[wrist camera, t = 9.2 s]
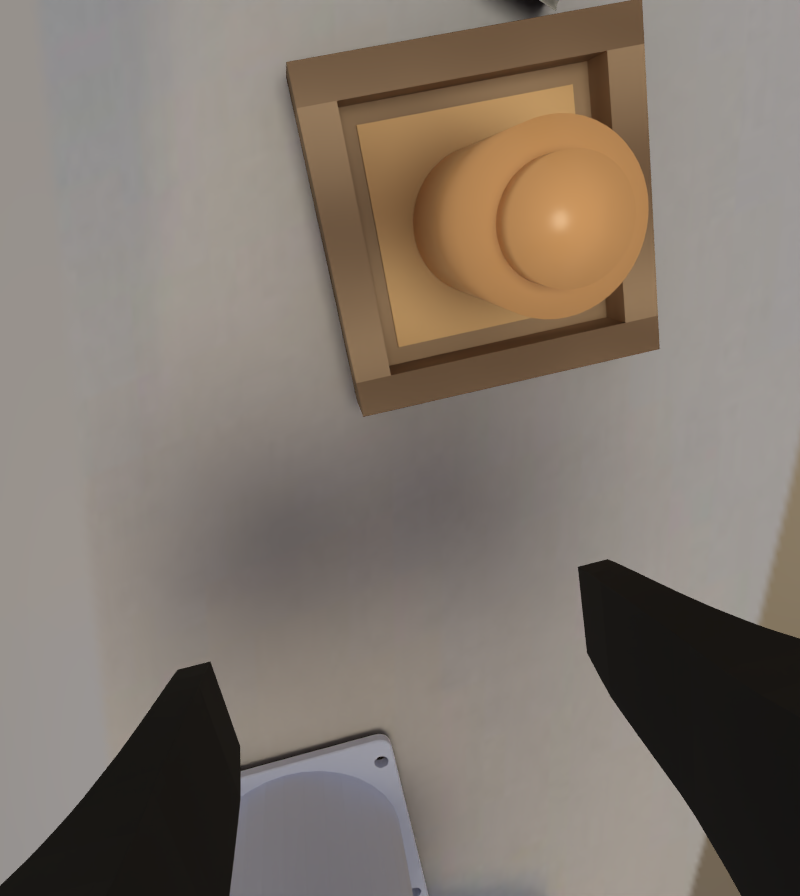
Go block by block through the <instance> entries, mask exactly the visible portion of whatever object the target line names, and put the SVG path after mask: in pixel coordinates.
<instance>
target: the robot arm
mask: <svg viewBox="0 0 800 896" xmlns="http://www.w3.org/2000/svg"><path fill="white" fill-rule="evenodd" d="M578 572H579V581H580V590H581V600H582V609H583V619H584V628H585V637H586V647H587V653H588V655H589V657H590V659H591V661H592V663H593V665H594V667H595V669H596V671H597V672H598V674H599V676H600V678H601V680H602V682H603V684H604V685H605V687H606V689H607V691H608V693H609V694H610V696H611V698H612V699H613V701H614V702H615V703H616V705H617V706H618V708H619V709H620V711H621V712H622V713H623V715H624V716H625V718H626V719H627V720H628V722H629V723H630V725H631V726H632V727H633V729H634V730H635V732H636V733H637V734H638V736H639V737H640V739H641V740H642V741H643V743H644V744H645V745H646V747H647V748H648V750H649V751H650V752H651V754H652V755H653V757H654V758H655V759H656V761H657V762H658V763H659V765H660V766H661V768H662V769H663V770H664V772H665V773H666V775H667V776H668V777H669V779H670V780H671V781H672V783H673V784H674V786H675V787H676V788H677V790H678V791H679V792H680V794H681V795H682V797H683V798H684V800H685V801H686V803H687V804H688V806H689V807H690V809H691V810H692V812H693V813H694V815H695V816H696V818H697V820H698V821H699V823H700V825H701V827H702V828H703V830H704V832H705V833H706V835H707V837H708V838H709V840H710V842H711V843H712V845H713V847H714V849H715V850H716V852H717V854H718V856H719V857H720V859H721V860H722V862H723V864H724V866H725V867H726V869H727V871H728V873H729V874H730V876H731V878H732V880H733V882H734V883H735V885H736V887H737V889H738V891H739V892H740V894H741V896H800V639H799V638H796V637H793V636H789V635H786V634H783V633H780V632H777V631H774V630H771V629H767V628H765V627H762V626H759V625H756V624H754V623H751V622H748V621H746V620H743V619H741V618H738V617H735V616H733V615H730V614H728V613H725V612H723V611H720V610H718V609H715V608H713V607H711V606H708V605H706V604H704V603H701V602H699V601H697V600H694V599H692V598H690V597H688V596H686V595H683V594H681V593H679V592H677V591H675V590H673V589H670V588H668V587H666V586H664V585H662V584H660V583H658V582H656V581H654V580H651V579H649V578H647V577H645V576H643V575H641V574H639V573H637V572H635V571H633V570H631V569H628V568H626V567H624V566H622V565H620V564H618V563H615V562H613V561H610V560H608V559H607V560H603V561H599V562H595V563H591V564H587V565H584V566H580V567H578ZM381 756H384V757H385V758H383V759H381V760H377V758H378V757H381ZM0 896H429V894H428V890H427V886H426V882H425V878H424V874H423V870H422V866H421V862H420V858H419V854H418V850H417V846H416V842H415V838H414V834H413V830H412V826H411V822H410V818H409V813H408V809H407V805H406V801H405V797H404V793H403V789H402V785H401V781H400V777H399V773H398V769H397V765H396V761H395V757H394V753H393V749H392V745H391V741H390V739H389V737H387V736H386V735H383V734H375V735H371V736H367V737H364V738H360V739H356V740H353V741H349V742H345V743H342V744H338V745H334V746H331V747H327V748H323V749H320V750H316V751H312V752H309V753H305V754H301V755H298V756H294V757H290V758H287V759H283V760H279V761H276V762H272V763H268V764H265V765H261V766H257V767H254V768H250V769H246V770H243V771H241V769H240V745H239V742H238V739H237V736H236V733H235V730H234V728H233V725H232V722H231V719H230V716H229V713H228V710H227V708H226V705H225V702H224V699H223V696H222V693H221V691H220V688H219V685H218V682H217V679H216V676H215V673H214V671H213V668H212V665H211V662H207V663H203V664H199V665H195V666H191V667H187V668H183V669H179V670H177V672H176V673H175V674H174V676H173V677H172V678H171V680H170V681H169V683H168V684H167V685H166V687H165V688H164V690H163V691H162V693H161V694H160V696H159V697H158V698H157V700H156V701H155V703H154V704H153V706H152V707H151V709H150V710H149V711H148V713H147V714H146V716H145V717H144V719H143V720H142V721H141V723H140V724H139V726H138V727H137V728H136V730H135V731H134V733H133V734H132V735H131V737H130V738H129V740H128V741H127V742H126V744H125V745H124V746H123V748H122V749H121V751H120V752H119V753H118V755H117V756H116V757H115V758H114V760H113V761H112V762H111V763H110V765H109V766H108V767H107V769H106V770H105V771H104V772H103V774H102V775H101V776H100V777H99V779H98V780H97V781H96V782H95V784H94V785H93V787H92V788H91V789H90V790H89V791H88V793H87V794H86V795H85V797H84V798H83V799H82V800H81V801H80V802H79V804H78V805H77V806H76V807H75V808H74V809H73V811H72V812H71V813H70V814H69V815H68V816H67V818H66V819H65V820H64V821H63V822H62V823H61V824H60V825H59V826H58V828H57V829H56V830H55V831H54V832H53V833H52V834H51V835H50V836H49V837H48V838H47V839H46V841H45V842H44V843H43V844H42V845H41V846H40V847H39V848H38V849H37V850H36V851H35V852H34V853H33V854H32V855H31V856H30V858H28V859H27V860H26V862H24V863H23V864H22V865H21V866H20V867H19V868H18V869H17V870H16V871H15V872H14V873H13V874H12V875H11V876H10V877H9V878H8V879H7V880H6V881H5V882H4V883H3V884H1V886H0Z"/></svg>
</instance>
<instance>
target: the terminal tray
mask: <svg viewBox="0 0 800 896" xmlns="http://www.w3.org/2000/svg"><path fill="white" fill-rule="evenodd" d="M286 78H287V82H288V87H289V92H290V96H291V101H292V105H293V110H294V114H295V119H296V124H297V128H298V133H299V137H300V142H301V146H302V151H303V156H304V160H305V165H306V169H307V174H308V178H309V183H310V188H311V192H312V197H313V201H314V206H315V210H316V215H317V220H318V224H319V229H320V233H321V238H322V242H323V247H324V252H325V256H326V261H327V265H328V270H329V274H330V279H331V284H332V288H333V293H334V297H335V302H336V306H337V311H338V316H339V320H340V325H341V329H342V334H343V338H344V343H345V347H346V352H347V357H348V361H349V366H350V370H351V375H352V379H353V384H354V389H355V393H356V398H357V402H358V404H359V407H360V409H361V412H362V414H363V417H365V416H369V415H374V414H378V413H382V412H387V411H391V410H395V409H400V408H404V407H408V406H413V405H417V404H422V403H426V402H430V401H435V400H439V399H443V398H448V397H452V396H456V395H461V394H465V393H470V392H474V391H478V390H483V389H487V388H491V387H496V386H500V385H504V384H509V383H513V382H517V381H522V380H526V379H531V378H535V377H539V376H544V375H548V374H552V373H557V372H561V371H565V370H570V369H574V368H578V367H583V366H587V365H592V364H596V363H600V362H605V361H609V360H613V359H618V358H622V357H626V356H631V355H635V354H640V353H644V352H648V351H653V350H657V349H659V329H658V309H657V289H656V269H655V249H654V229H653V209H652V189H651V169H650V149H649V129H648V109H647V89H646V69H645V49H644V30H643V10H642V0H630V1H624V2H619V3H613V4H608V5H602V6H597V7H591V8H585V9H580V10H574V11H569V12H563V13H558V14H552V15H546V16H541V17H535V18H530V19H524V20H518V21H513V22H507V23H502V24H496V25H491V26H485V27H479V28H474V29H468V30H463V31H457V32H452V33H446V34H440V35H435V36H429V37H424V38H418V39H413V40H407V41H401V42H396V43H390V44H385V45H379V46H373V47H368V48H362V49H357V50H351V51H346V52H340V53H334V54H329V55H323V56H318V57H312V58H307V59H301V60H295V61H290V62H286ZM555 113H572V114H578V115H583V116H586V117H589V118H592V119H595V120H597V121H599V122H601V123H603V124H604V125H606V126H608V127H609V128H610V129H612V130H613V131H614V132H616V133H617V134H618V135H619V136H620V137H621V138H622V139H623V140H624V141H625V142H626V144H627V145H628V146H629V148H630V149H631V150H632V152H633V153H634V155H635V157H636V159H637V161H638V162H639V165H640V167H641V170H642V172H643V175H644V179H645V183H646V187H647V193H648V223H647V230H646V234H645V239H644V242H643V245H642V248H641V251H640V253H639V256H638V258H637V260H636V262H635V264H634V266H633V267H632V269H631V270H630V272H629V274H628V275H627V277H626V278H625V279H624V280H623V282H622V283H621V284H620V285H619V287H618V288H617V289H616V290H615V291H614V292H613V293H612V294H611V295H609V296H608V297H607V298H606V299H604V300H603V301H602V302H600V303H599V304H597V305H596V306H594V307H592V308H591V309H589V310H586V311H584V312H582V313H580V314H577V315H573V316H570V317H566V318H560V319H537V318H531V317H527V316H523V315H520V314H518V313H515V312H512V311H510V310H507V309H505V308H502V307H500V306H497V305H494V304H492V303H489V302H487V301H484V300H482V299H479V298H477V297H474V296H471V295H469V294H466V293H464V292H461V291H459V290H456V289H454V288H452V287H450V286H448V285H446V284H445V283H443V282H442V281H441V280H439V279H438V278H437V277H436V276H435V275H434V274H433V273H432V272H431V271H430V270H429V268H428V267H427V266H426V264H425V263H424V261H423V259H422V257H421V255H420V253H419V251H418V248H417V245H416V241H415V237H414V229H413V214H414V207H415V203H416V199H417V195H418V193H419V190H420V188H421V186H422V184H423V182H424V180H425V178H426V177H427V176H428V174H429V173H430V171H431V170H432V169H433V168H434V167H435V166H436V165H437V164H438V163H439V162H440V161H441V160H442V159H444V158H445V157H446V156H448V155H449V154H451V153H453V152H454V151H457V150H459V149H461V148H464V147H466V146H468V145H471V144H473V143H475V142H478V141H480V140H483V139H485V138H487V137H490V136H492V135H494V134H497V133H499V132H501V131H504V130H506V129H509V128H511V127H513V126H516V125H518V124H520V123H523V122H525V121H528V120H530V119H532V118H535V117H539V116H543V115H547V114H555Z"/></svg>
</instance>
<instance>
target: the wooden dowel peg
mask: <svg viewBox="0 0 800 896" xmlns="http://www.w3.org/2000/svg"><path fill="white" fill-rule="evenodd" d="M647 223H648V193H647V187H646V183H645V179H644V175H643V172H642V170H641V167H640V165H639V162H638V161H637V159H636V157H635V155H634V153H633V152H632V150H631V149H630V148H629V146H628V145H627V144H626V142H625V141H624V140H623V139H622V138H621V137H620V136H619V135H618V134H617V133H616V132H614V131H613V130H612V129H610V128H609V127H608V126H606V125H604V124H603V123H601V122H599V121H597V120H595V119H592V118H589V117H586V116H583V115H578V114H572V113H555V114H547V115H543V116H539V117H535V118H532V119H530V120H528V121H525V122H523V123H520V124H518V125H516V126H513V127H511V128H509V129H506V130H504V131H501V132H499V133H497V134H494V135H492V136H490V137H487V138H485V139H483V140H480V141H478V142H475V143H473V144H471V145H468V146H466V147H464V148H461V149H459V150H457V151H454V152H453V153H451V154H449V155H448V156H446V157H445V158H444V159H442V160H441V161H440V162H439V163H438V164H437V165H436V166H435V167H434V168H433V169H432V170H431V171H430V173H429V174H428V176H427V177H426V178H425V180H424V182H423V184H422V186H421V188H420V190H419V193H418V195H417V199H416V203H415V207H414V214H413V229H414V237H415V241H416V245H417V248H418V251H419V253H420V255H421V257H422V259H423V261H424V263H425V264H426V266H427V267H428V268H429V270H430V271H431V272H432V273H433V274H434V275H435V276H436V277H437V278H438V279H439V280H441V281H442V282H443V283H445V284H446V285H448V286H450V287H452V288H454V289H456V290H459V291H461V292H464V293H466V294H469V295H471V296H474V297H477V298H479V299H482V300H484V301H487V302H489V303H492V304H494V305H497V306H500V307H502V308H505V309H507V310H510V311H512V312H515V313H518V314H520V315H523V316H527V317H531V318H537V319H560V318H566V317H570V316H573V315H577V314H580V313H582V312H584V311H586V310H589V309H591V308H592V307H594V306H596V305H597V304H599V303H600V302H602V301H603V300H604V299H606V298H607V297H608V296H609V295H611V294H612V293H613V292H614V291H615V290H616V289H617V288H618V287H619V285H620V284H621V283H622V282H623V280H624V279H625V278H626V277H627V275H628V274H629V272H630V270H631V269H632V267H633V266H634V264H635V262H636V260H637V258H638V256H639V253H640V251H641V248H642V245H643V242H644V239H645V234H646V230H647Z"/></svg>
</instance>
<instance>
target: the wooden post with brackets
mask: <svg viewBox="0 0 800 896" xmlns="http://www.w3.org/2000/svg"><path fill="white" fill-rule="evenodd" d="M540 1H541V2H543V3H544V4H546V5H548V6H549V7H551V8H552V9H554V10H556V5H557V3H558V0H540Z"/></svg>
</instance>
